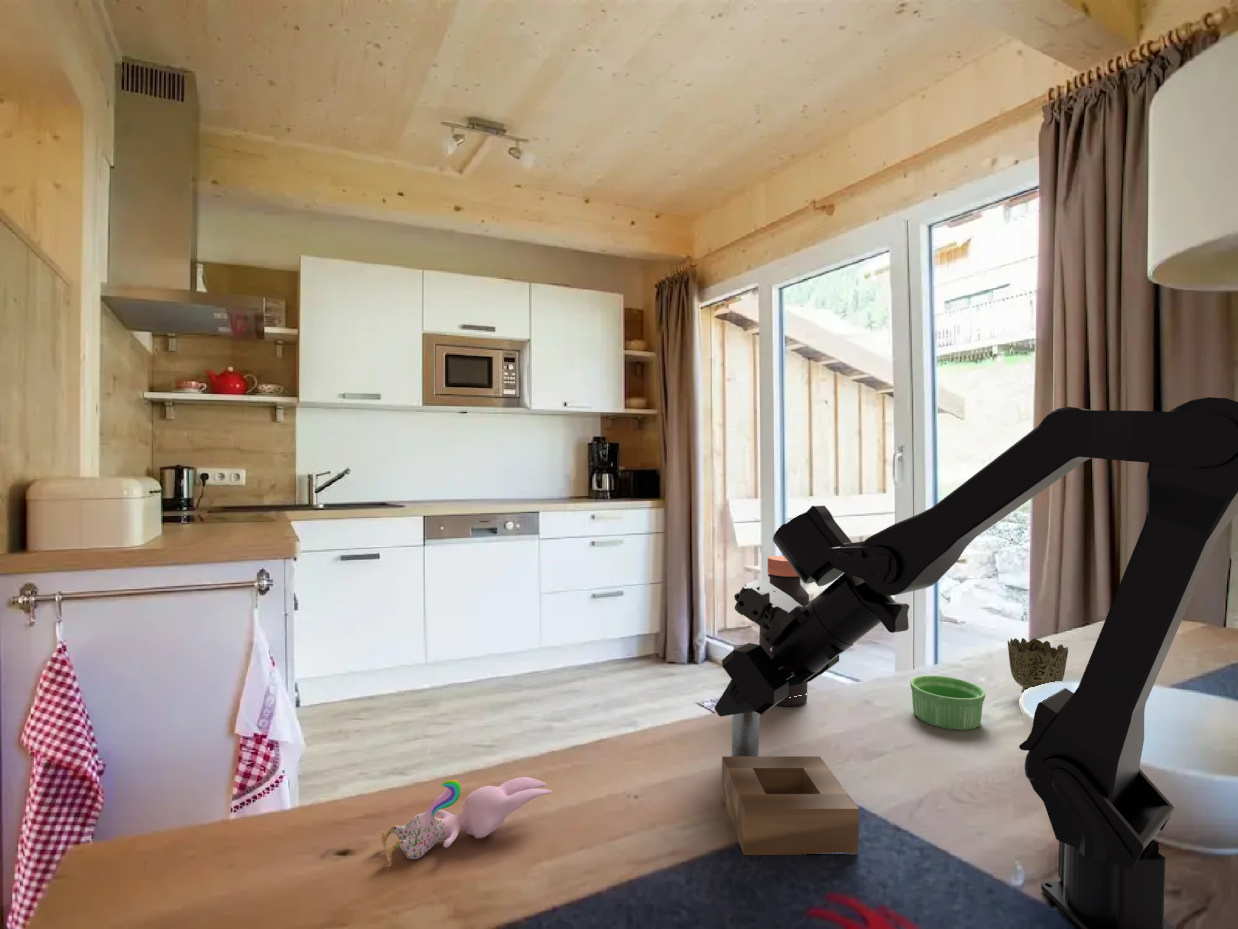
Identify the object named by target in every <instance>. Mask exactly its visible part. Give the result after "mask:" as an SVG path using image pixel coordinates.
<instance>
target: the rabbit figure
mask: <svg viewBox="0 0 1238 929" xmlns="http://www.w3.org/2000/svg"><path fill="white" fill-rule="evenodd" d="M440 786H441V787H442V786H443V787H445V788H447V789H446V790H445V791H444V792H443V793H442V794H440V795H439V796H438V797H437V798H436V799H435V800H434V801H433V803H432V804H431V805H430V807H429V808H428V809H427V811H425V812H421V813H418V814H416V815H414V816H412V818H411V819H410V820H409V821H408V822H407V823H405V824H403V825H397V824H393V825H392V826H391V827H390V828H389V830H388V831H387V832H386V833H384V831H383V830H380V833H381V834H382V835H381V836H380V839H381V843H382V844H381V845H382V846H383V847H384V850H383V851H385V855H386V860H387V862H388V863H389V864H388V867H391V866H392V854H393V852H394V851H395V849H396V848H399V849H401V850H402V852H403V854H404V856H405V857H406V859H410V860H417V859H420V858H422V857H424V856H425V855H426V854H427V853H428V852H429V850H431V849H432V848H433V847H434V846H435V845H436V844H437V843H438V842H441V841H442V842H443V847H444V848H448V847H450V846H451V845H453V842H454V841H455V840H456V838H457V837H458V835H459V833H460V831H461V829H463V828H464V829H465V833H466V834H467V835H471V836H474V838H475V839H483V838H485V837H487V836H488V835H490V834H491V833H493V831H496V830H497V829H499V828H501V827H502V825H503V823H504V822H505V820H506V818H507V817H508V816H509V815H510V814H512V813H514V812H515V811H517V810H518V809H520V808H521V807H523V806H524V805H526V804H527V803H529V802H530V801H532V800H534V799H536V798H537V797H540V796H543V795H550V794H552V792H553V791H552V789H545V788H546V786H547V784H546V783H545V782H544V781H542V780H538V779H535V778H533V777H530V776H529V777H528V776H523V777H522V776H521V777H516V778H511V779H509V780H507V781H505V782H503V783H502V784H500V785H499V786H495V785H483V786H481V787H478V788H477V789H474V790H473V791H471V792H470V793H469V795H468V794H467V796H466V797H465V799H464V801H463V804H462V811H461V812H460V813H459V814H456V815H455V814H452V813H451V812H448V811H446V810H444V809H446V808H449V807H451V806H453V805H454V804H455V803H457V801H458V800H459V798H460V796H461V792H462V787H461V784H460V781H458V780H456V779H449V780H446V781H444V782H443V783H442V784H441V785H440ZM436 816H439V817H440V818H439V817H436ZM392 834H395V835H396V836H397V838H398V840H397V841H396V842H395V843H394V844H393V846H391V847H390V848H389V847H388V844H387V840H388V838H389V836H390V835H392Z"/></svg>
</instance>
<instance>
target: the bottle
mask: <svg viewBox="0 0 1238 929" xmlns="http://www.w3.org/2000/svg"><path fill="white" fill-rule="evenodd" d="M767 577H769V583H770V584H772V585H773V586H775V587H777V588H778V589H780V590H781V591H783V592H784V593H786V594H787V595H789V596H790V597H792V598H793V599H794V600H795V601H796V602H798V603H799V604H800V605H802V606H804V605H805V604H806V603H807V602H809V601H810V595H809V593H808V592H807V590H806V589H805V588H804V587H803V586H802V585H801V579H800V577H799V576H798V575H797V573H796V572H795V570H794V569H793V568H792V566H791V565H790V564H789V562H788V561H787V560H786V558H785V557H784V555H772V556H769V557H767ZM766 631H767V629H764V628H763V627H761V626H759V636H758V637H759V638H758V639H759V641H758V642H759V643H758V645H761V646H762V648H763V649H764V650H765V652H766V653H767V654H768V655H769V657H770V658H771V659H772V658H773V656H774V655H773V654H772V652H771V651H770V648H772V647H773V645H772V644H771V645H769V644H768V642H767V641H766V640H765V639H764V637H763V636H762V635H763V634H764V633H765V632H766ZM806 693H807V695H805V694H806ZM798 695H802V696H798ZM794 696H797V697H794ZM789 697H791V698H789ZM807 700H808V682H806V683H802V684H798V685H794V686H791V687H789V693H788V696H787V697H785V698H784V699H783V700H782V701H780V702H779V703H778V704H776V705H775V706H779V707H797V706H798V705H799V706H801V705H804V704H805V703H806V702H807ZM799 706H798V707H799Z"/></svg>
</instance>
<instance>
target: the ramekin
mask: <svg viewBox="0 0 1238 929" xmlns="http://www.w3.org/2000/svg"><path fill="white" fill-rule="evenodd" d="M909 684H910V689H911V694H912V696H911V697H912V707H913V708H912V709H913V714H914V716H915V717H916V716H917V717H918V718H917V719H919V718H920V719H921V720H920V719H919V720H920V721H922V720H923V721H925V722H926V723H925V722H924V723H925V724H928V723H929V724H928V725H930V724H933V725H935V726H934V727H936V726H939V727H938V728H940V727H944V728H943V729H945V728H948V729H947V730H952V729H957V730H956V731H969V729H971V730H975V729H977V728H978V727H980V725H981V722H982V714H983V705H984V701H985V698H986V691H985V690H984V689H983V688H982V687H981V686H979V685H977V684H975V683H972V682H971V681H966V680H963V679H961V678H957V677H956V678H955V677H952V676H951V677H950V676H944V675H931V674H928V675H927V674H926V675H920V676H915V677H912V678H911V680H910V682H909ZM923 721H922V722H923ZM933 725H932V726H933ZM976 727H977V728H976Z"/></svg>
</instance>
